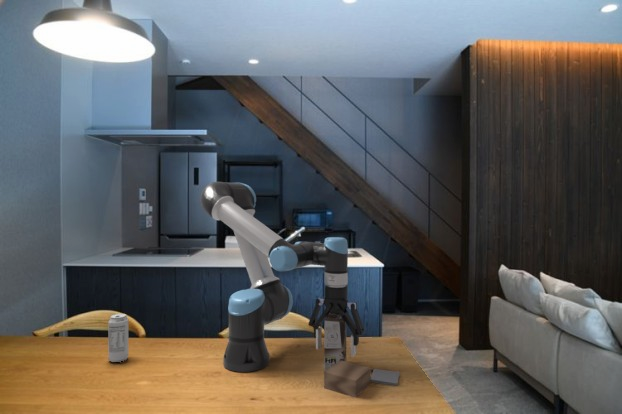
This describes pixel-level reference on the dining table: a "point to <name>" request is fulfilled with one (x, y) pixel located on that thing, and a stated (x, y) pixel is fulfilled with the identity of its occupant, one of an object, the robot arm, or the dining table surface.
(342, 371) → the walnut block
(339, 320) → the coffee box
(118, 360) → the energy drink can
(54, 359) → the dining table surface
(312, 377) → the dining table surface
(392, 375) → the slate coaster
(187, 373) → the dining table surface
